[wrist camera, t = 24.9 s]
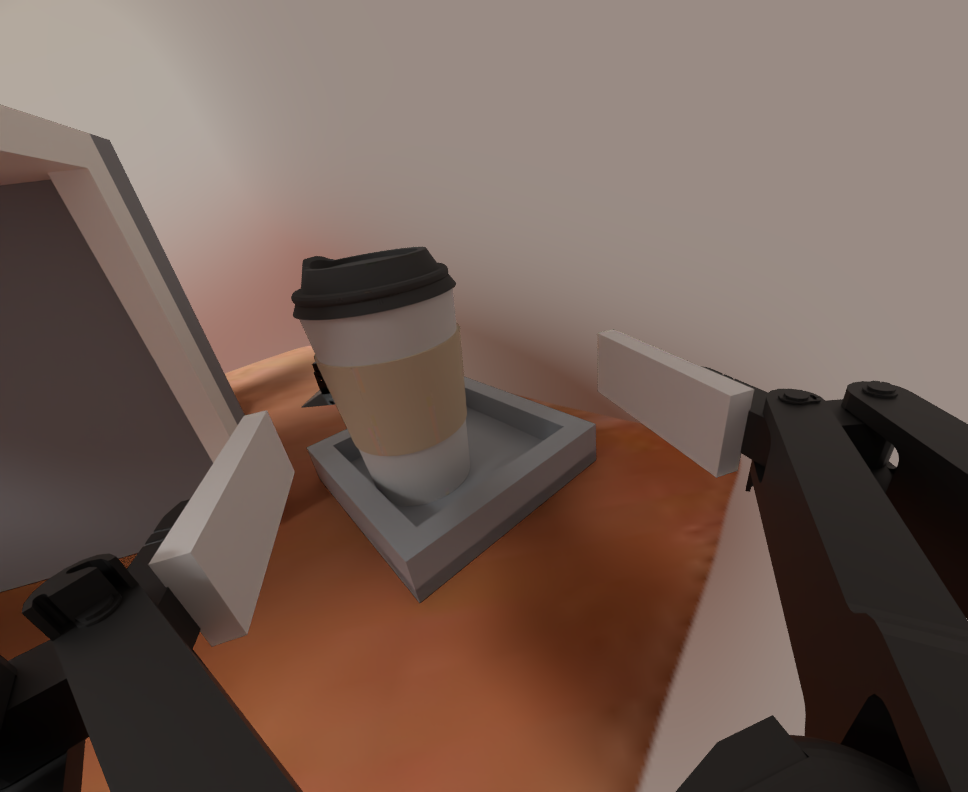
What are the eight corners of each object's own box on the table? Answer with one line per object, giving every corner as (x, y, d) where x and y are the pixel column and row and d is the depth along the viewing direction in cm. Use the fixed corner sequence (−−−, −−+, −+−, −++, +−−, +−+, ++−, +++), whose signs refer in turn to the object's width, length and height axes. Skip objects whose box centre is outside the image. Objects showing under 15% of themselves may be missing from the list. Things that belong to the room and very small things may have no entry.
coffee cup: (490, 432, 30) (458, 231, 24) (481, 514, 22) (429, 245, 16) (383, 440, 32) (324, 251, 25) (338, 522, 24) (233, 275, 17)
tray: (419, 603, 19) (405, 561, 18) (319, 479, 30) (306, 447, 28) (596, 459, 27) (595, 424, 26) (467, 402, 38) (462, 375, 36)
